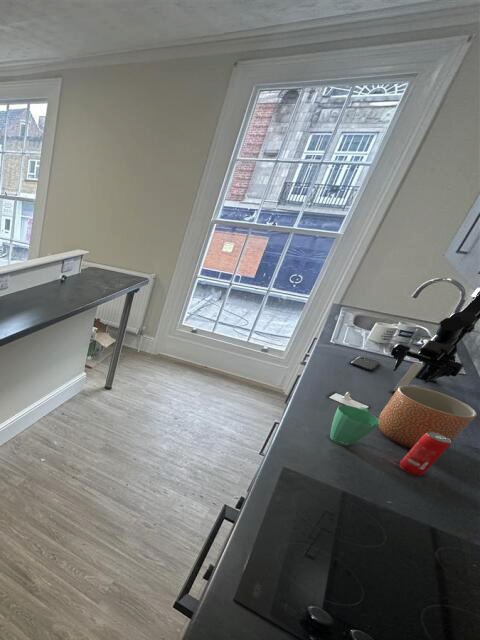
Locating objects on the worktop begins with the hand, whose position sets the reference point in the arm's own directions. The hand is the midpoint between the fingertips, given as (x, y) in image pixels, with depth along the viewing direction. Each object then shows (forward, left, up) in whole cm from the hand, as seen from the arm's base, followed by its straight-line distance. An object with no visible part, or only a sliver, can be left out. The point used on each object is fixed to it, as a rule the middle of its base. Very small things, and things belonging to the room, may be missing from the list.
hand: (409, 376), depth 150 cm
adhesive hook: (+22, -17, -8) cm, 29 cm away
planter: (+40, -5, -8) cm, 42 cm away
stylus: (0, 0, -8) cm, 8 cm away
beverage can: (+59, -7, -8) cm, 60 cm away
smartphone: (-27, -6, -8) cm, 28 cm away
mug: (+53, -22, -8) cm, 58 cm away
